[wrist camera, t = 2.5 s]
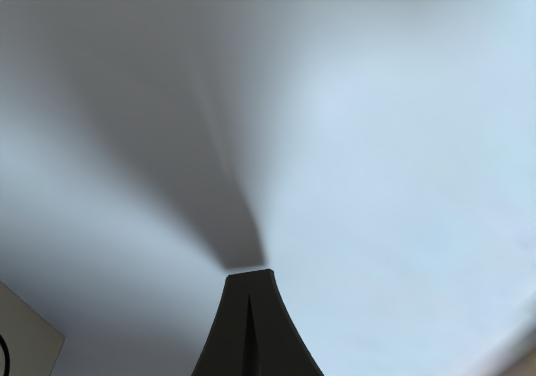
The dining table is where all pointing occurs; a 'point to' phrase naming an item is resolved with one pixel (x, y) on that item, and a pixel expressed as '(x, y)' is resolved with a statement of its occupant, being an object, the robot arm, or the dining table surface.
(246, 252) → the dining table surface
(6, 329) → the beige symbol cube
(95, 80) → the dining table surface
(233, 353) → the robot arm
